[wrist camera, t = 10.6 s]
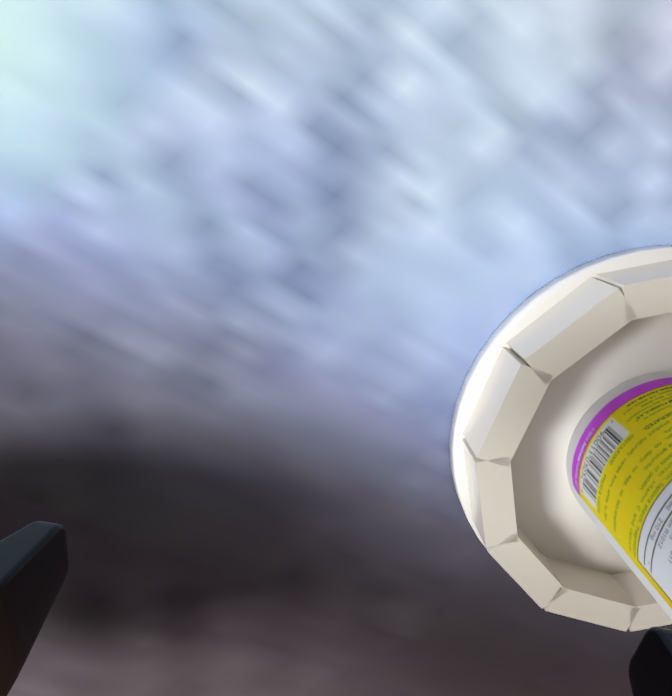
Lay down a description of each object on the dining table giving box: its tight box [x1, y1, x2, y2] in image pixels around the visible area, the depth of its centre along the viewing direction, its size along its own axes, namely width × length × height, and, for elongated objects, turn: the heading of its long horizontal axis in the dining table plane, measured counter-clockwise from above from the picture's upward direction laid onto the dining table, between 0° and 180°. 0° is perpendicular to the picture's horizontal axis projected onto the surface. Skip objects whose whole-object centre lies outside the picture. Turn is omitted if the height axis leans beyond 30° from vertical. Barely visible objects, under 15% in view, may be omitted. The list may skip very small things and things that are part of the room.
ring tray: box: [449, 245, 672, 632], centre depth 21 cm, size 15×15×3 cm
